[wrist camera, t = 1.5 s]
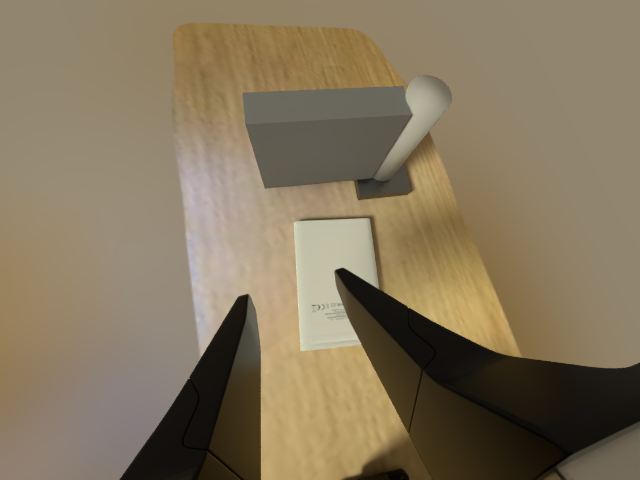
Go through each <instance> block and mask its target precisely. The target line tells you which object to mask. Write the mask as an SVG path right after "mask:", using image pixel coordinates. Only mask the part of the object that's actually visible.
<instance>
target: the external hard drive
mask: <svg viewBox="0 0 640 480" xmlns="http://www.w3.org/2000/svg"><path fill="white" fill-rule="evenodd" d="M294 237H295V254H296V273H297V292H298V311H299V329H300V347H301V351H309V350H318V349H327V348H336V347H346V346H355V345H362V344H361V342H360V340H359V339H358V337H357V335H356V333H355V331H354V329H353V327H352V325H351V323H350V321H349V319H348V317H347V314H346V311H345V309H344V306H343V303H342V301H341V298H340V296H339V293H338V290H337V287H336V282H335V274H334V271H335V270H336V269H339V268H345V269H347V270H349V271H350V272H352V273H353V274H355V275H357V276H358V277H360V278H362V279H363V280H365V281H367V282H368V283H370V284H371V285H373V286H375V287H376V288H378V289H379V284H378V276H377V269H376V261H375V253H374V246H373V239H372V232H371V224H370V219H369V218H356V219H333V220H309V221H295V222H294Z"/></svg>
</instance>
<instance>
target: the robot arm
mask: <svg viewBox="0 0 640 480" xmlns="http://www.w3.org/2000/svg"><path fill="white" fill-rule="evenodd" d="M334 274H335V282H336V287H337V290H338V293H339V296H340V298H341V301H342V303H343V306H344V309H345V311H346V314H347V317H348V319H349V321H350V323H351V325H352V327H353V329H354V331H355V333H356V335H357V337H358V339H359V340H360V342H361V344H362V346H363V348H364V350H365V352H366V354H367V356H368V358H369V360H370V361H371V363H372V365H373V367H374V369H375V371H376V373H377V375H378V377H379V379H380V381H381V382H382V384H383V386H384V388H385V390H386V392H387V394H388V396H389V398H390V400H391V401H392V403H393V405H394V407H395V409H396V411H397V413H398V415H399V417H400V419H401V421H402V422H403V424H404V426H405V428H406V430H407V432H408V433H409V436H410V438H411V440H412V442H413V444H414V446H415V447H416V449H417V451H418V453H419V455H420V457H421V459H422V461H423V463H424V465H425V467H426V468H427V470H428V472H429V474H430V476H431V478H432V480H640V363H638V364H635V365H633V366H631V367H626V368H617V369H616V368H612V369H611V368H596V367H587V366H580V365H573V364H565V363H557V362H550V361H542V360H534V359H527V358H520V357H512V356H507V355H503V354H500V353H497V352H494V351H492V350H489V349H487V348H485V347H483V346H481V345H479V344H477V343H475V342H472V341H470V340H468V339H466V338H464V337H462V336H460V335H458V334H456V333H454V332H452V331H450V330H448V329H446V328H444V327H442V326H441V325H439V324H437V323H435V322H433V321H431V320H429V319H428V318H426V317H424V316H422V315H421V314H419V313H417V312H416V311H414V310H412V309H411V308H408V307H407V306H406V305H404V304H402V303H401V302H399V301H398V300H396V299H394V298H393V297H391V296H389V295H388V294H386V293H384V292H383V291H381V290H380V289H378V288H376V287H375V286H373V285H371V284H370V283H368V282H367V281H365V280H363V279H362V278H360V277H358V276H357V275H355V274H353V273H352V272H350V271H349V270H347V269H345V268H339V269H336V270H335V271H334ZM402 476H404V478H403V479H402V480H409V477H408V475H407V473H406V472H405V470H403V469H398V470H395V471H391V472H387V473H380V474H377V475H373V476H369V477H366V478H362V479H358V480H401V479H400V478H401V477H402ZM120 480H261V351H260V339H259V331H258V323H257V315H256V310H255V307H254V304H253V302H252V299H251V297H250V295H249V294H246V295H242V296H239V297H238V298H237V300H236V301H235V303H234V305H233V306H232V308H231V310H230V311H229V313H228V314H227V316H226V318H225V319H224V321H223V323H222V324H221V326H220V328H219V329H218V331H217V333H216V334H215V336H214V338H213V339H212V341H211V342H210V344H209V346H208V347H207V349H206V351H205V352H204V354H203V356H202V357H201V359H200V361H199V362H198V364H197V365H196V367H195V369H194V371H193V372H192V374H191V375H190V379H188V380H187V382H186V384H185V385H184V387H183V388H182V390H181V392H180V393H179V395H178V396H177V398H176V399H175V401H174V403H173V404H172V406H171V407H170V409H169V410H168V412H167V413H166V415H165V416H164V418H163V419H162V421H161V422H160V423H159V425H158V426H157V428H156V429H155V431H154V432H153V433H152V435H151V436H150V438H149V439H148V440H147V442H146V443H145V445H144V446H143V447H142V449H141V450H140V452H139V453H138V454H137V456H136V457H135V459H134V460H133V462H132V463H131V464H130V466H129V467H128V468H127V470H126V471H125V473H124V474H123V475H122V477H121V478H120Z"/></svg>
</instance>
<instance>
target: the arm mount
mask: <svg viewBox="0 0 640 480" xmlns="http://www.w3.org/2000/svg"><path fill="white" fill-rule="evenodd" d="M354 183H355V188H356V193H357V198H358V200H363V199H372V198H382V197H391V196H400V195H408V194H409V193H410V192H411V191H412V190H411V187H410V183H409V179H408V175H407V171H406V168H405V164H404V163H403V165H402V166H401V167H400V168H399V170H398V171H397V172H396V173H395V175H394V176H393V177H392V178H391V179H390V180H387V181H378V180H376V179H374V178H373V177H372V178H369V179H359V180H354Z"/></svg>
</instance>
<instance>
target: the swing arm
mask: <svg viewBox="0 0 640 480" xmlns="http://www.w3.org/2000/svg"><path fill="white" fill-rule="evenodd" d="M451 101H452V94H451V91H450V89H449V87H448V86H447V85H446V84H445V83H444V82H443V81H442V80H440V79H438V78H436V77H434V76H429V75H422V76H418V77H416V78H414V79H413V80H412V81H411V83H410V85H409V86H408V88H407V90H406V92H405V90H404V87H403V86H393V87H369V88H346V89H322V90H298V91H274V92H251V93H243V103H244V114H245V124H246V128H247V131H248V134H249V138H250V141H251V144H252V147H253V151H254V154H255V157H256V161H257V164H258V167H259V170H260V174H261V177H262V180H263V184H264V187H265V188H275V187H285V186H296V185H306V184H317V183H327V182H338V181H348V180H359V179H369V178H372V177H373V178H374V179H376V180H378V181H387V180H390V179H391V178H392V177H393V176H394V175H395V173H396V172H397V171H398V170H399V168H400V167H401V166H402V165H403V163H404V162H405V161H406V160H407V158H408V157H409V156H410V154H411V153H412V152H413V151H414V149H415V148H416V147H417V146H418V144H419V143H420V142H421V141H422V139H423V138H424V137H425V136H426V134H427V133H428V132H429V131H430V129H431V128H432V127H433V125H434V124H435V123H436V122H437V120H438V119H439V118H440V117H441V116H442V114H443V113H444V112H445V110H446V109H447V108H448V107H449V105H450V104H451Z"/></svg>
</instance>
